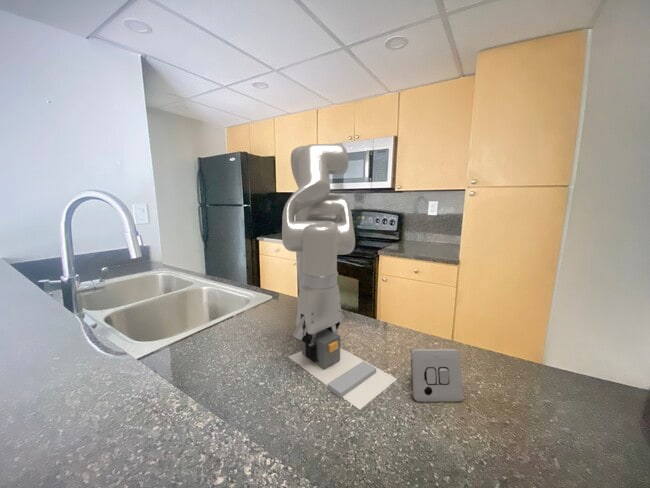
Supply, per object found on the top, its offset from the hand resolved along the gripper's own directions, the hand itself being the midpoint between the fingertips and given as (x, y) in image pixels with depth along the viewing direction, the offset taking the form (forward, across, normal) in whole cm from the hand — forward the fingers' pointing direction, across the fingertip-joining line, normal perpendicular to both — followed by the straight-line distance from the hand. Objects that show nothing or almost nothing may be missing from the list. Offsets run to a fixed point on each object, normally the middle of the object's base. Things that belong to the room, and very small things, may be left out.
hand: (320, 353), depth 61 cm
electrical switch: (+2, -10, +22) cm, 25 cm away
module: (+1, 0, 0) cm, 1 cm away
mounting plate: (+2, -1, +6) cm, 6 cm away
